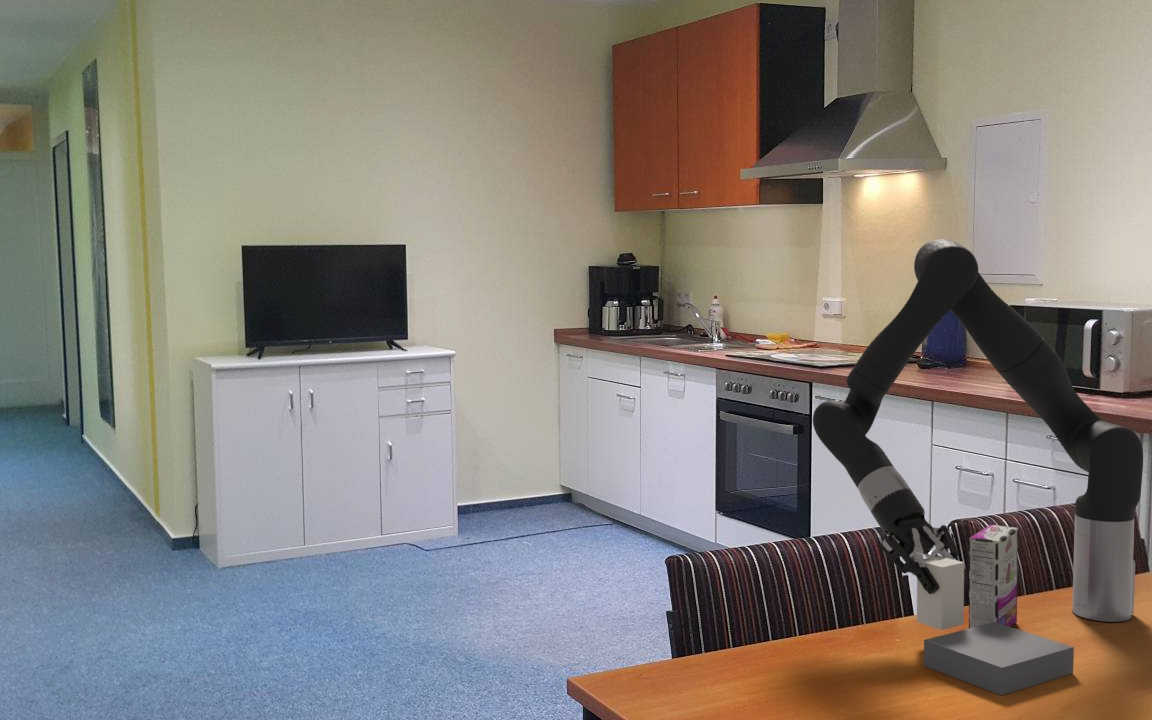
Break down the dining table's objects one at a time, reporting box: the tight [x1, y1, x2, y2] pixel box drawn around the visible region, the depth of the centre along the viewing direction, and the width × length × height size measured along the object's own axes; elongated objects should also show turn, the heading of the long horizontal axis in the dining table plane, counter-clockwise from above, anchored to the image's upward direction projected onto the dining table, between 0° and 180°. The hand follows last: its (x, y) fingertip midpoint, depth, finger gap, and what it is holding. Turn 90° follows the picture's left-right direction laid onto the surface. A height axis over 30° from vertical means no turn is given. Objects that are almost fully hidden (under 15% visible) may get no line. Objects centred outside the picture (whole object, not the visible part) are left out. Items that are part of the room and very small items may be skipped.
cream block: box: [916, 555, 965, 631], centre depth 178 cm, size 5×5×10 cm
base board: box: [923, 622, 1075, 696], centre depth 168 cm, size 16×14×4 cm
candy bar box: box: [968, 524, 1019, 629], centre depth 186 cm, size 11×5×16 cm, turn 143°
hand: (947, 588), depth 177 cm, fingers closed on cream block, 5 cm apart
